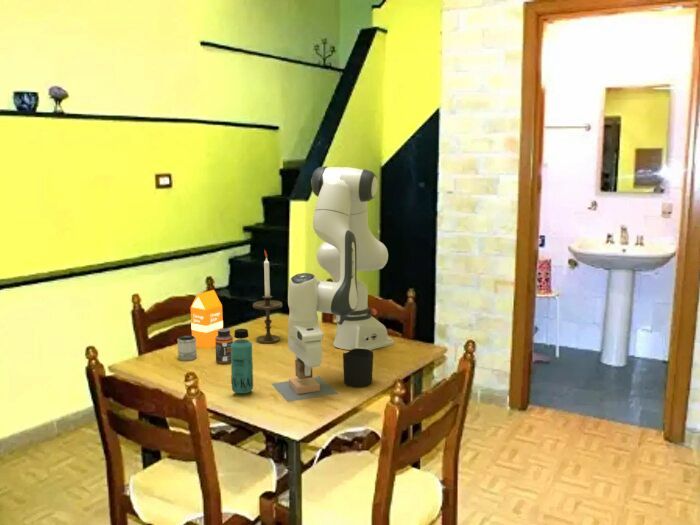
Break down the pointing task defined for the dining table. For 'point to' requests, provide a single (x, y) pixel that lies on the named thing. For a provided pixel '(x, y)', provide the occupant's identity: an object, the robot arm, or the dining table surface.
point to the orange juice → (206, 318)
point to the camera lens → (187, 348)
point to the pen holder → (358, 367)
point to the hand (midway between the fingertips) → (304, 372)
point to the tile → (304, 385)
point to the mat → (293, 396)
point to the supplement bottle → (223, 346)
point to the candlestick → (267, 308)
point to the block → (301, 369)
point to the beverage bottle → (241, 363)
